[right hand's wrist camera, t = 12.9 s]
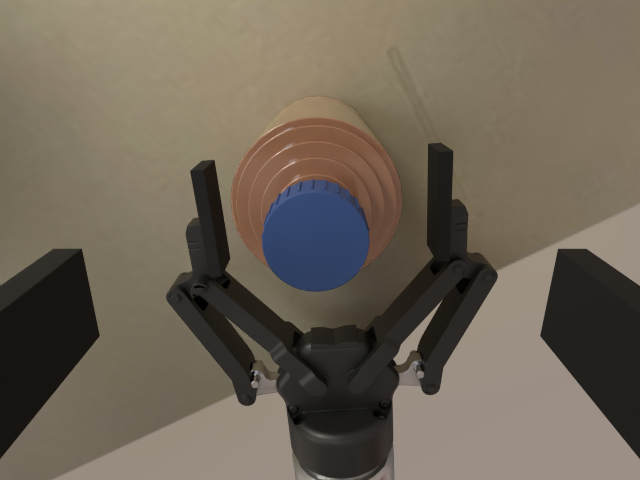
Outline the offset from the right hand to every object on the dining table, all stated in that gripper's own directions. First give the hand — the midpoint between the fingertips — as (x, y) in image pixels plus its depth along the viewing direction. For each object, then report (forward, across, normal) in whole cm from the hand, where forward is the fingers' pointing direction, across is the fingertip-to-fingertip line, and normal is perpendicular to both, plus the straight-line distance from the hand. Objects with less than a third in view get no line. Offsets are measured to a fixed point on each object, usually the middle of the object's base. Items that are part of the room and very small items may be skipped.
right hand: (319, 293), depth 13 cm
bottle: (+21, 0, 0) cm, 21 cm away
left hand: (+15, 0, -1) cm, 15 cm away
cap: (+4, 0, 0) cm, 4 cm away
